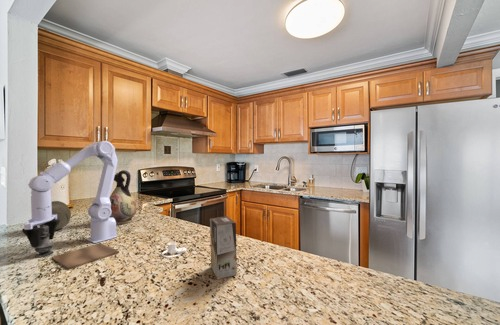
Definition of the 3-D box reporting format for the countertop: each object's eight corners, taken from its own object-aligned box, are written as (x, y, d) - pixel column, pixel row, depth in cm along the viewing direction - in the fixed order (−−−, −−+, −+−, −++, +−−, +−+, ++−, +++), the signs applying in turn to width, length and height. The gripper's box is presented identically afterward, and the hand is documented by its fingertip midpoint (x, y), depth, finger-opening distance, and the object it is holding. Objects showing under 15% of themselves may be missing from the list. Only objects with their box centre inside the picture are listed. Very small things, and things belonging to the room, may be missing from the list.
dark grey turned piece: (42, 258, 84) (41, 225, 84) (29, 257, 85) (28, 225, 85) (58, 251, 90) (57, 221, 89) (46, 250, 91) (45, 220, 91)
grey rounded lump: (65, 224, 128) (65, 198, 127) (75, 229, 119) (74, 200, 119) (31, 231, 116) (30, 202, 116) (39, 236, 108) (38, 205, 108)
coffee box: (237, 275, 70) (237, 222, 69) (217, 279, 67) (216, 225, 67) (228, 262, 78) (227, 215, 78) (209, 266, 76) (209, 218, 75)
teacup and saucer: (189, 251, 89) (189, 241, 89) (174, 260, 82) (174, 248, 82) (172, 248, 93) (172, 238, 92) (156, 256, 85) (156, 245, 85)
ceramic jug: (99, 225, 125) (97, 170, 124) (119, 218, 140) (118, 169, 140) (127, 226, 122) (125, 170, 122) (144, 219, 137) (143, 169, 137)
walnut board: (100, 244, 97) (100, 243, 97) (119, 252, 88) (119, 251, 88) (51, 258, 84) (51, 256, 84) (68, 269, 75) (68, 267, 75)
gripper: (43, 204, 94) (44, 237, 94) (13, 212, 79) (14, 251, 80) (62, 203, 95) (63, 235, 95) (36, 211, 81) (38, 249, 81)
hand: (42, 242), depth 87 cm, fingers open, 7 cm apart
